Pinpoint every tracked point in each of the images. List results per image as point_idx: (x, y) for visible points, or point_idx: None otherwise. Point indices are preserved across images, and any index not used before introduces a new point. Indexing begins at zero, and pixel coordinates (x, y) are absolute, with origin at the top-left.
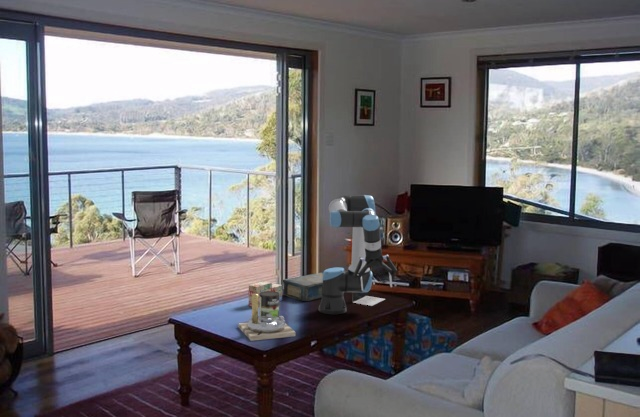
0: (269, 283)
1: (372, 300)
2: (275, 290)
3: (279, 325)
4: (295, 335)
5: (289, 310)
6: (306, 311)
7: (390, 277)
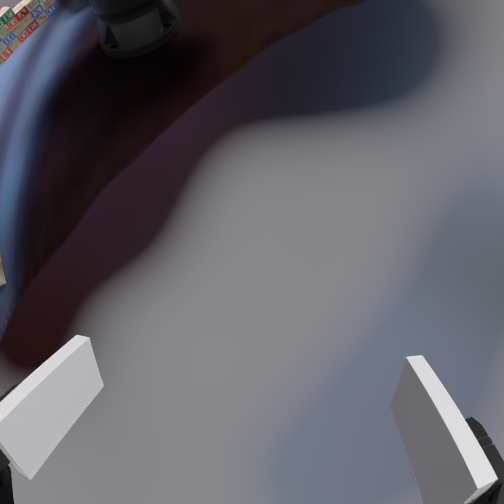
0: (4, 13)
1: None
2: (28, 9)
3: None
4: (4, 283)
5: (41, 59)
6: (73, 52)
7: (431, 499)
